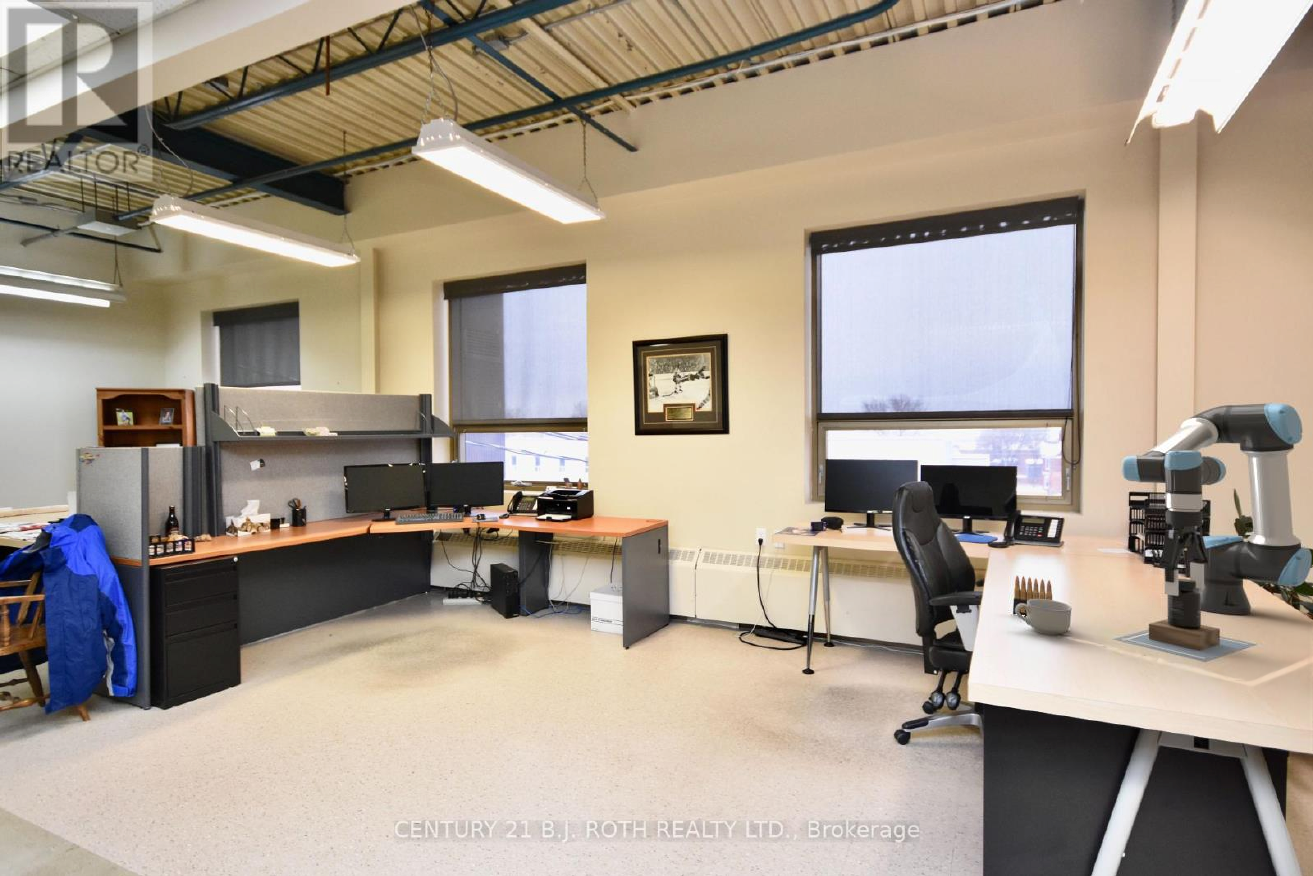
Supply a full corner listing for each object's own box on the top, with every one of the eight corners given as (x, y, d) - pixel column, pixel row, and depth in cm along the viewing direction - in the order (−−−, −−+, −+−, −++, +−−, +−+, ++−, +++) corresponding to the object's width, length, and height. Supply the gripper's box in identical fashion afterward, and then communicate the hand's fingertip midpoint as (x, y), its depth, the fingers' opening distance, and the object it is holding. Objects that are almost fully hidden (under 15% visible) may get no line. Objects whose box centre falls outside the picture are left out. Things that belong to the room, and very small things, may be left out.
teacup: (1065, 628, 186) (1065, 600, 186) (1076, 639, 175) (1076, 609, 175) (1010, 624, 190) (1010, 596, 190) (1018, 634, 180) (1018, 605, 180)
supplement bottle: (1207, 630, 166) (1207, 583, 167) (1176, 629, 168) (1176, 582, 168) (1191, 623, 173) (1191, 577, 173) (1161, 621, 175) (1161, 576, 175)
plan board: (1166, 628, 186) (1166, 624, 186) (1256, 648, 168) (1256, 643, 168) (1112, 643, 172) (1112, 638, 172) (1205, 666, 155) (1205, 661, 155)
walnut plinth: (1169, 633, 178) (1169, 618, 178) (1219, 644, 168) (1219, 628, 168) (1148, 639, 173) (1148, 623, 173) (1199, 650, 163) (1199, 634, 163)
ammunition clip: (1012, 614, 201) (1012, 575, 201) (1015, 613, 202) (1015, 574, 202) (1051, 622, 193) (1051, 581, 193) (1053, 620, 194) (1053, 580, 194)
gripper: (1189, 505, 180) (1190, 582, 180) (1142, 511, 168) (1143, 594, 168) (1223, 507, 173) (1224, 588, 173) (1176, 514, 161) (1177, 600, 161)
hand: (1184, 591), depth 171 cm, fingers open, 13 cm apart
